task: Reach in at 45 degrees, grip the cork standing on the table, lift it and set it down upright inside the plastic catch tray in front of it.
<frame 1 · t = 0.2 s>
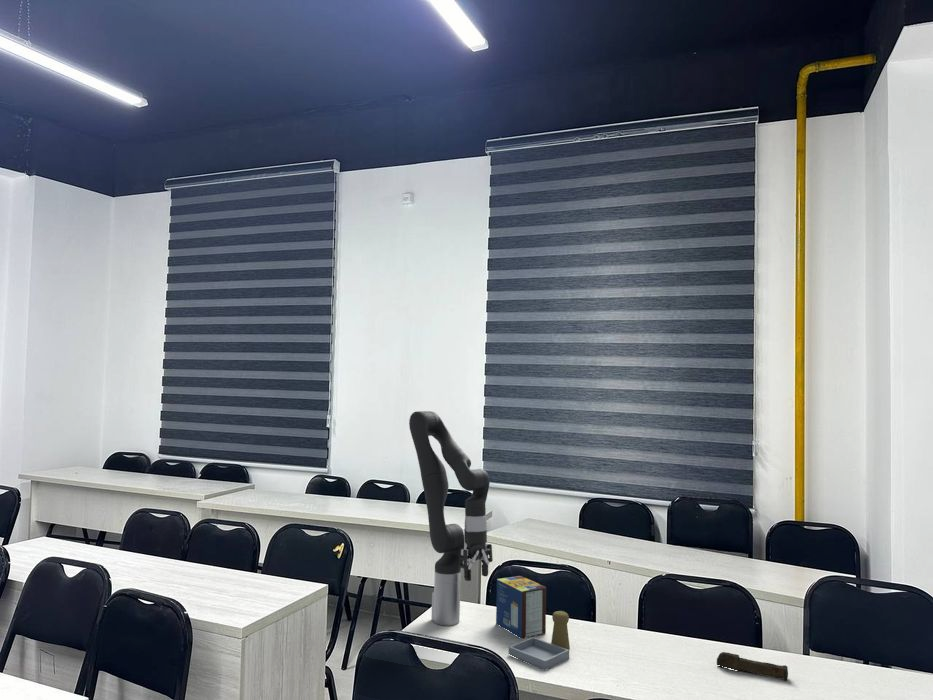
hand: (476, 578, 210), 18 cm above the table, tool pointing down, fingers open, 8 cm apart
hand tool: (751, 675, 181), on the table
protein box: (520, 629, 212), on the table
catch tray: (538, 657, 189), on the table
cork: (560, 648, 197), on the table
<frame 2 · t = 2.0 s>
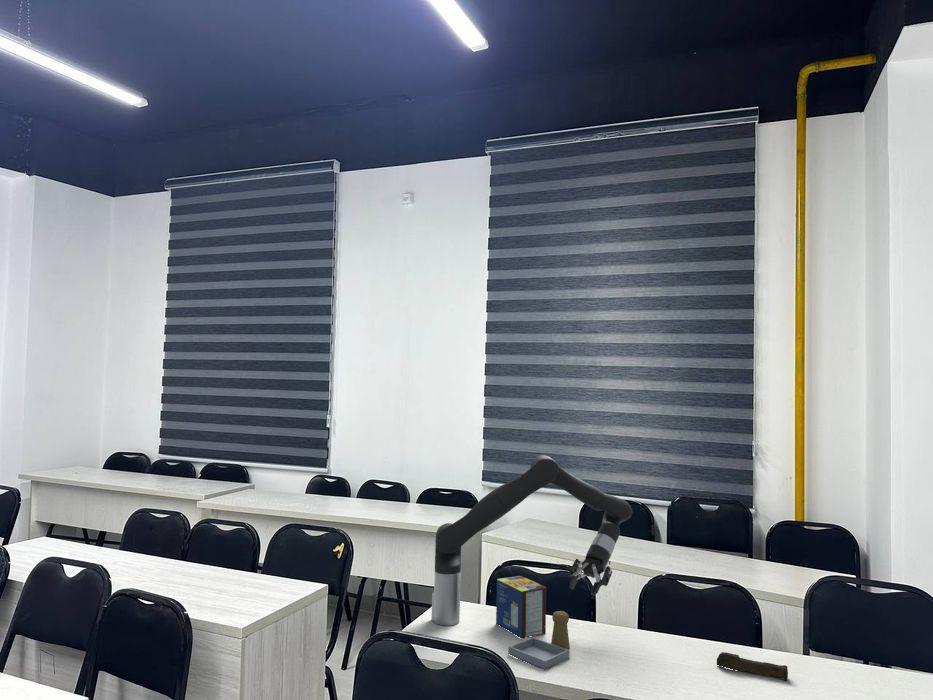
hand: (581, 591, 206), 15 cm above the table, tool tilted 45°, fingers open, 8 cm apart
nothing on the table moved.
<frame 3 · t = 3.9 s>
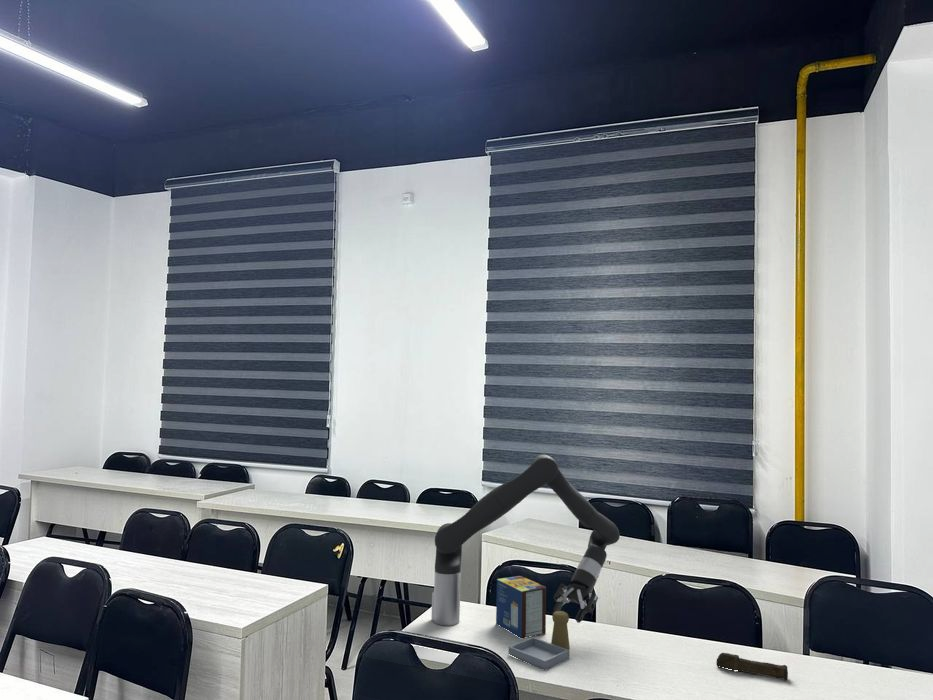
hand: (566, 617, 200), 9 cm above the table, tool tilted 45°, fingers open, 8 cm apart
nothing on the table moved.
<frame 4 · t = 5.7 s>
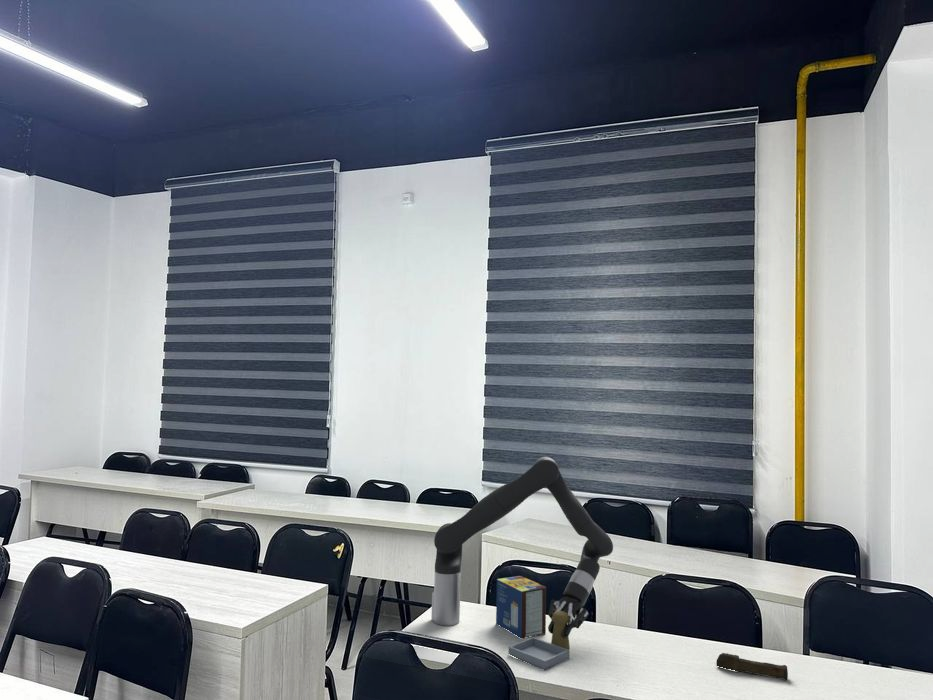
hand: (556, 634, 196), 5 cm above the table, tool tilted 45°, fingers closed on cork, 4 cm apart
cork: (560, 648, 197), on the table, touching gripper
everything else where it was.
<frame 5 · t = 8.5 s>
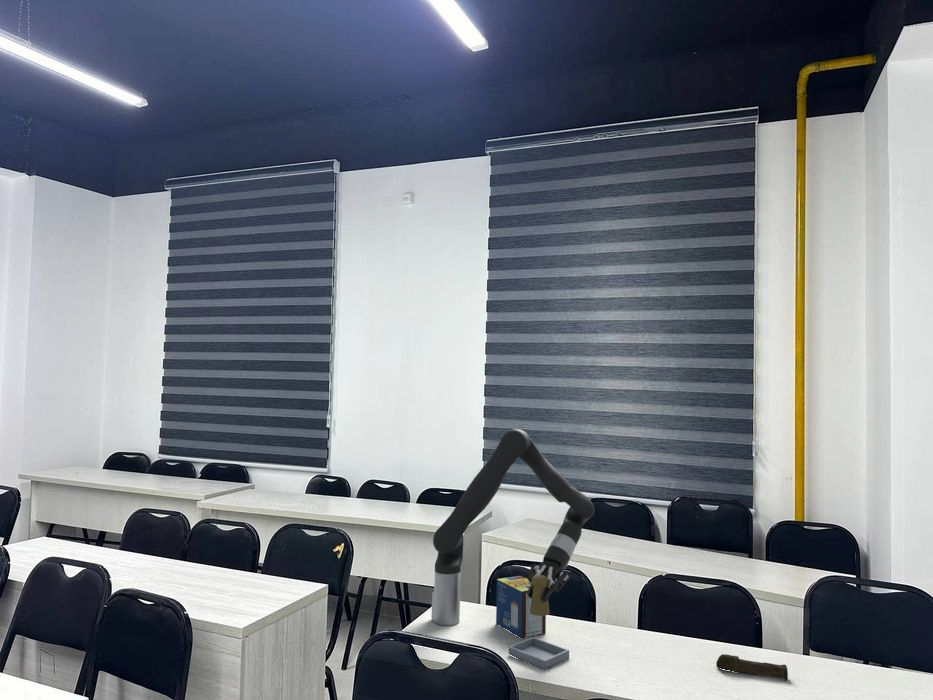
hand: (536, 598, 189), 18 cm above the table, tool tilted 45°, fingers closed on cork, 4 cm apart
cork: (539, 613, 190), point 13 cm above the table, touching gripper
when the fingers open (6 cm above the table, at t = 11.1 s): cork drops 1 cm, resting on catch tray.
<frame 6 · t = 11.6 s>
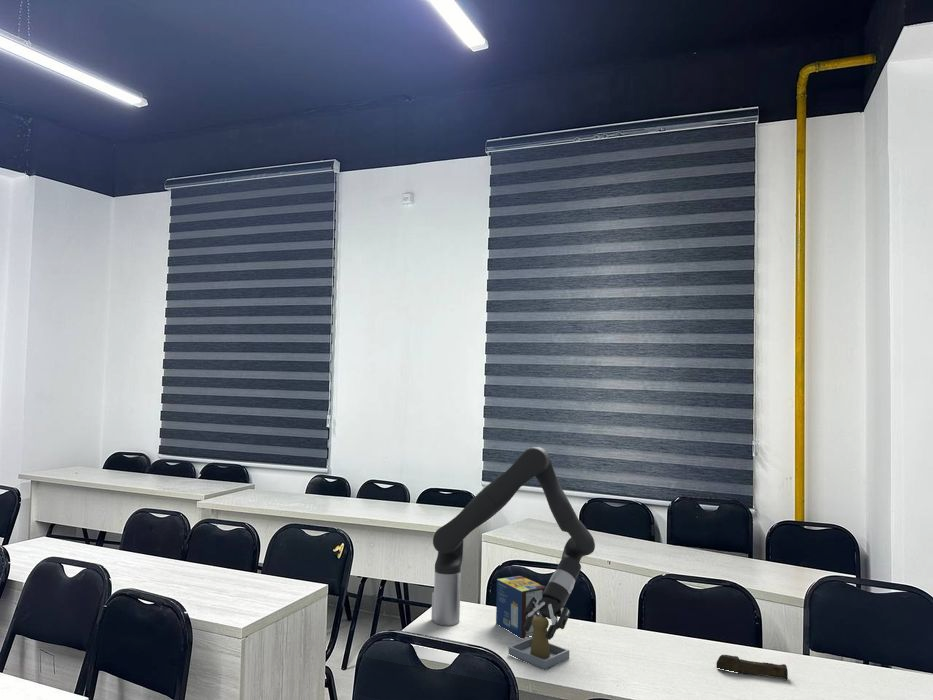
hand: (536, 634, 189), 7 cm above the table, tool tilted 45°, fingers open, 8 cm apart
cork: (540, 655, 190), resting on catch tray
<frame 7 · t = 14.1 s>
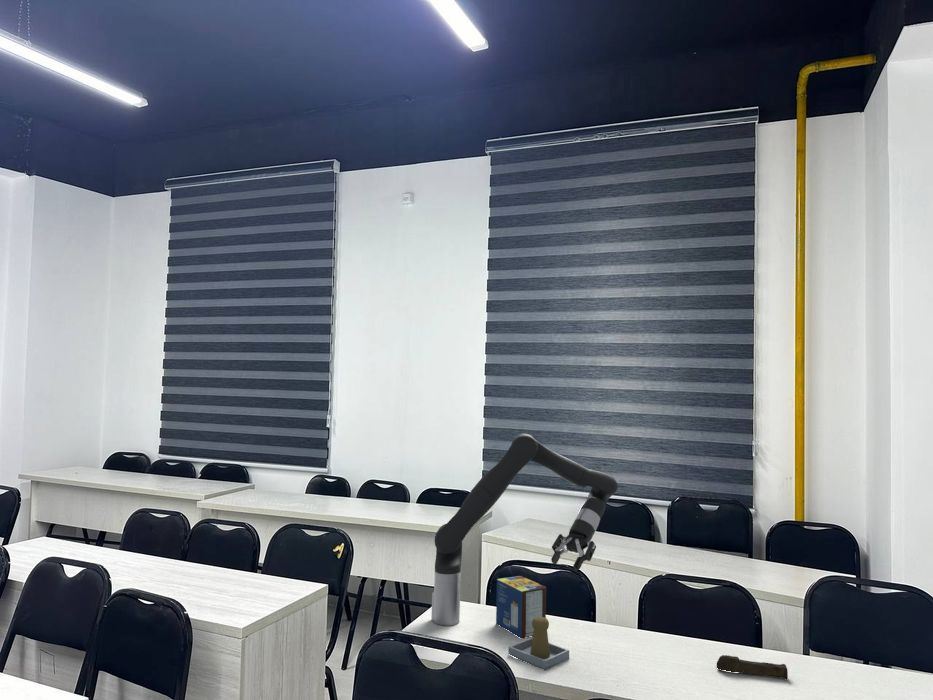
hand: (564, 566, 200), 25 cm above the table, tool tilted 45°, fingers open, 8 cm apart
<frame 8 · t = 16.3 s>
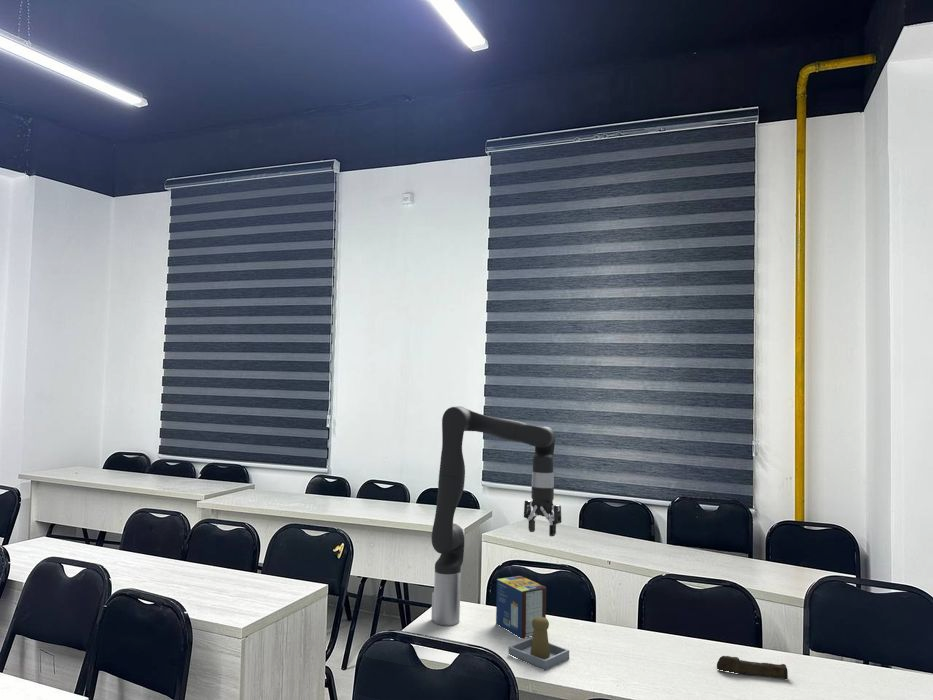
hand: (542, 533, 210), 33 cm above the table, tool pointing down, fingers open, 8 cm apart
at the end: cork inside the target area on the catch tray (0.6 cm from its centre), point 0.3 cm above the catch tray's base; cork tilted 0°; the gripper is holding nothing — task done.
